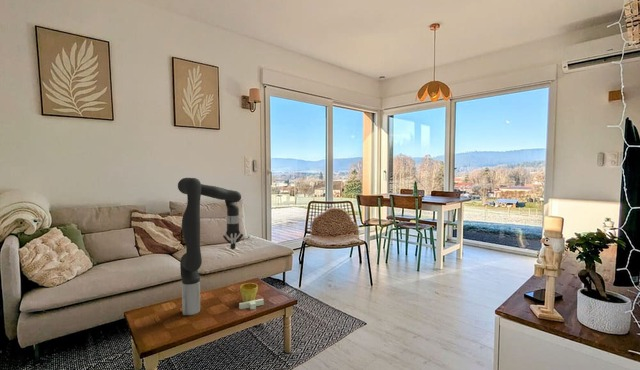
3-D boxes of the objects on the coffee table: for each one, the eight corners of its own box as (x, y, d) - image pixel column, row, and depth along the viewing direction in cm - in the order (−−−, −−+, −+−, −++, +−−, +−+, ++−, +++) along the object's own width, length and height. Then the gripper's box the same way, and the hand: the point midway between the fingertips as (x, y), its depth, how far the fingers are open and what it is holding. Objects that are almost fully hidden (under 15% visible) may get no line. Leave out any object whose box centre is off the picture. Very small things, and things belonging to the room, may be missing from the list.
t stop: (241, 311, 174) (241, 306, 173) (239, 308, 178) (239, 302, 178) (265, 306, 180) (265, 301, 180) (262, 303, 184) (262, 298, 184)
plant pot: (255, 305, 181) (255, 289, 181) (237, 305, 181) (237, 289, 181) (259, 298, 191) (259, 282, 191) (242, 297, 192) (242, 282, 191)
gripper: (223, 224, 189) (223, 251, 190) (244, 222, 195) (244, 249, 196) (221, 222, 196) (221, 248, 197) (242, 220, 202) (242, 246, 203)
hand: (233, 249), depth 196 cm, fingers closed
